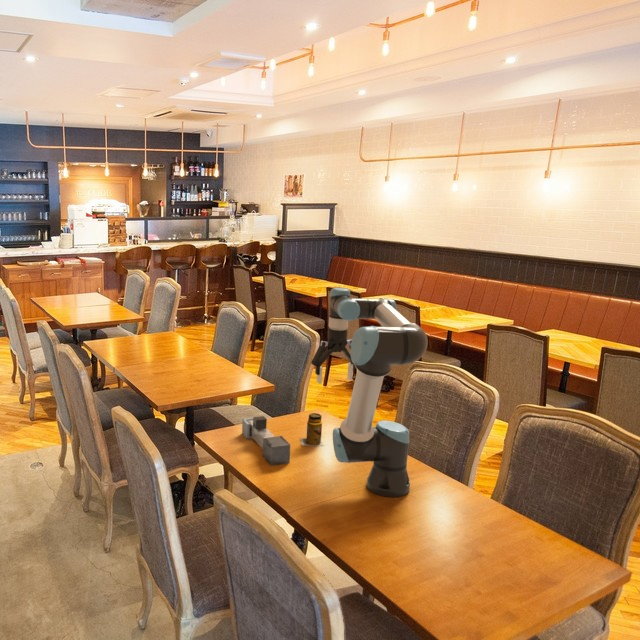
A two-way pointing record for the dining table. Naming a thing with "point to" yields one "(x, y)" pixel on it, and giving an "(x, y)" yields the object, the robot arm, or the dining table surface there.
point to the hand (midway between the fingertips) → (334, 381)
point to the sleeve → (276, 450)
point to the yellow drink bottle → (313, 431)
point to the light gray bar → (259, 429)
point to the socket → (246, 428)
